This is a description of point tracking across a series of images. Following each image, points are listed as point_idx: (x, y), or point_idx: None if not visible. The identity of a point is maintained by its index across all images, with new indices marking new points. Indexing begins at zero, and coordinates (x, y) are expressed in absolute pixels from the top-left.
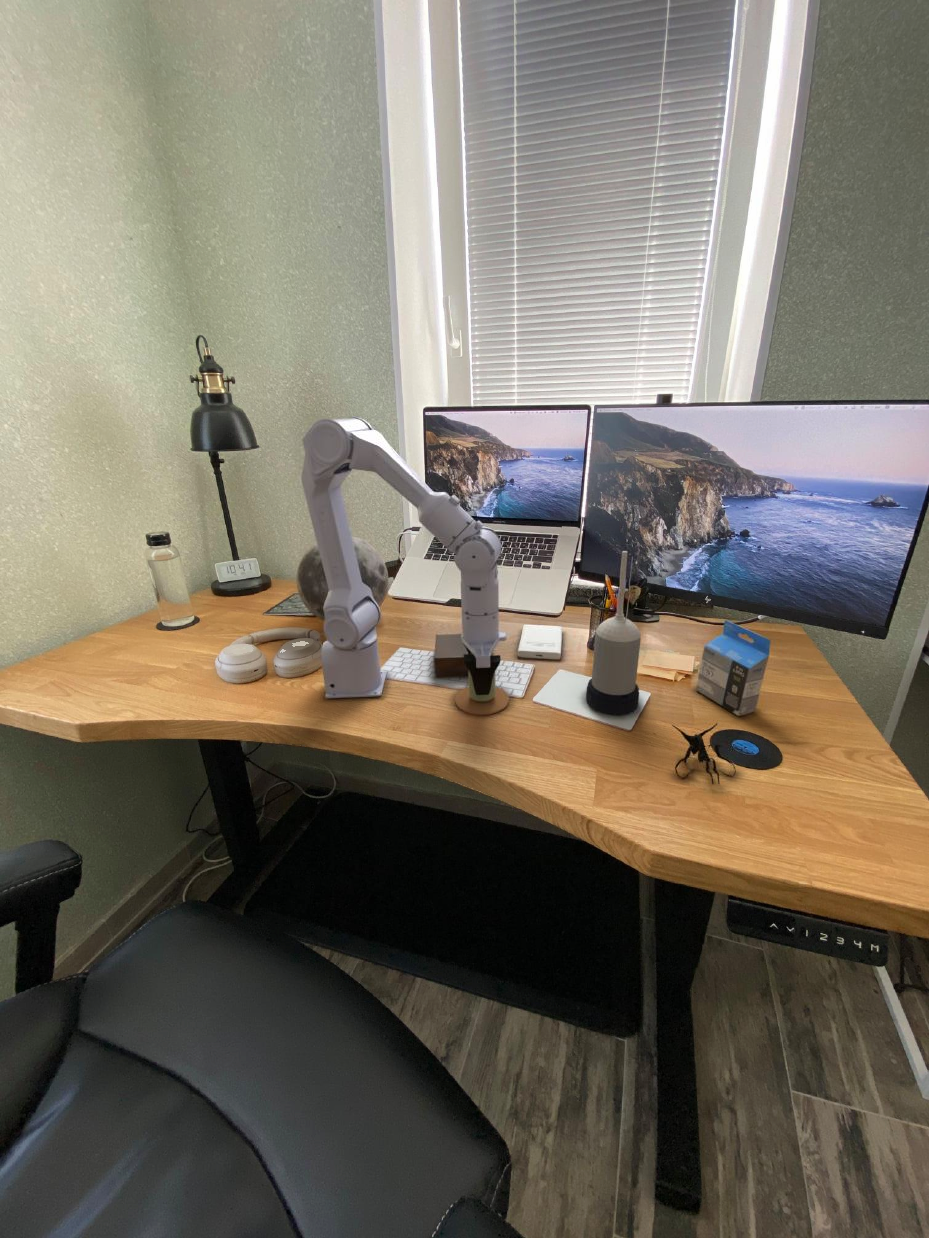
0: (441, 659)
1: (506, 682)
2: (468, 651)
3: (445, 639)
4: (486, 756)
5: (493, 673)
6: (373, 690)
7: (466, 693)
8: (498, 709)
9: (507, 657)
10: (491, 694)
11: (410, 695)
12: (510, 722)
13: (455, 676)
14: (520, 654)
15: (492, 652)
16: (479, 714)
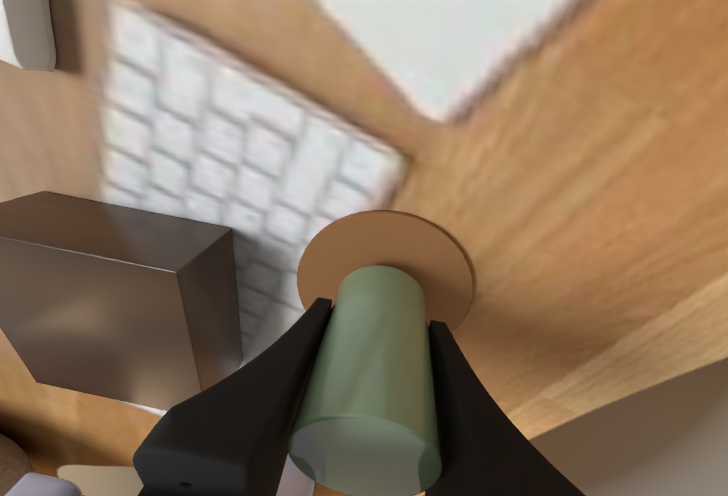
0: None
1: (282, 186)
2: (282, 472)
3: (63, 369)
4: (662, 348)
5: (509, 422)
6: None
7: None
8: (465, 268)
9: (73, 122)
10: (422, 298)
11: None
12: (545, 248)
13: (238, 322)
14: (39, 55)
15: (288, 386)
16: (463, 318)
